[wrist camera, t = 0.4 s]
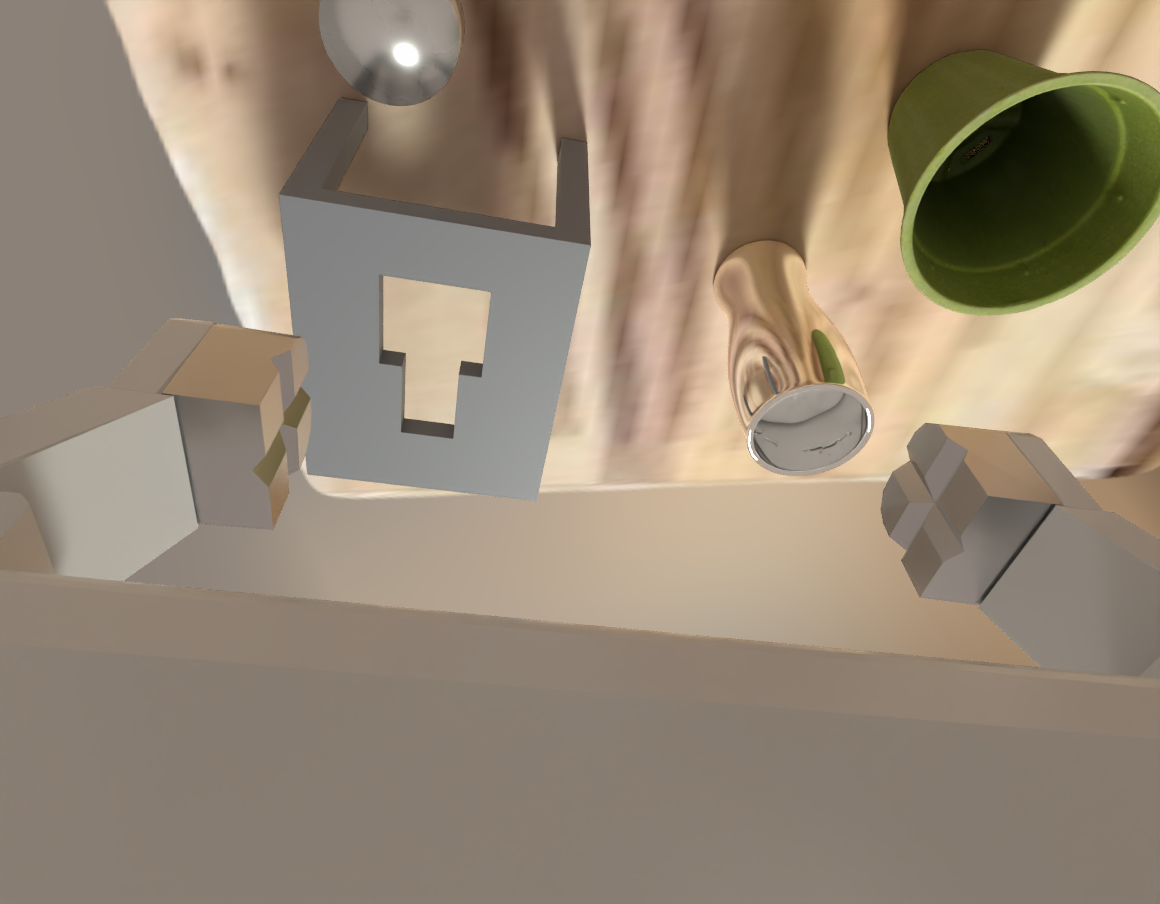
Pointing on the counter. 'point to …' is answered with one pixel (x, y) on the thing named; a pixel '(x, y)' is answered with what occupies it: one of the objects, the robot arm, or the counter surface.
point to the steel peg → (393, 45)
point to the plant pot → (1021, 179)
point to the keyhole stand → (443, 256)
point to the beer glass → (788, 365)
